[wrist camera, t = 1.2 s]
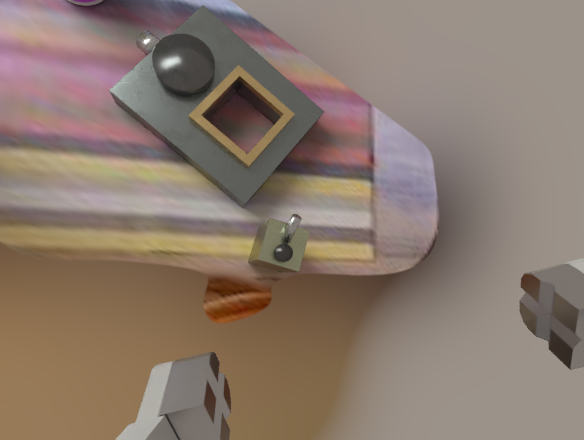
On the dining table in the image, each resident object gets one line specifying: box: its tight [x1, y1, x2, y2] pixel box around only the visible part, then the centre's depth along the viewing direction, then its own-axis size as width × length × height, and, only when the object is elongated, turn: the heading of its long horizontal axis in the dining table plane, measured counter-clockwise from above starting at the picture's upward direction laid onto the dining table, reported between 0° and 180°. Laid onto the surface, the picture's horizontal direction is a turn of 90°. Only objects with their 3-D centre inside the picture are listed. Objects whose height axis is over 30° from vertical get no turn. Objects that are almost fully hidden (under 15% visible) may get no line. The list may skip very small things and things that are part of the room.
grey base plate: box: [109, 6, 324, 208], centre depth 45 cm, size 22×16×4 cm
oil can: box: [248, 214, 310, 272], centre depth 41 cm, size 4×5×12 cm
